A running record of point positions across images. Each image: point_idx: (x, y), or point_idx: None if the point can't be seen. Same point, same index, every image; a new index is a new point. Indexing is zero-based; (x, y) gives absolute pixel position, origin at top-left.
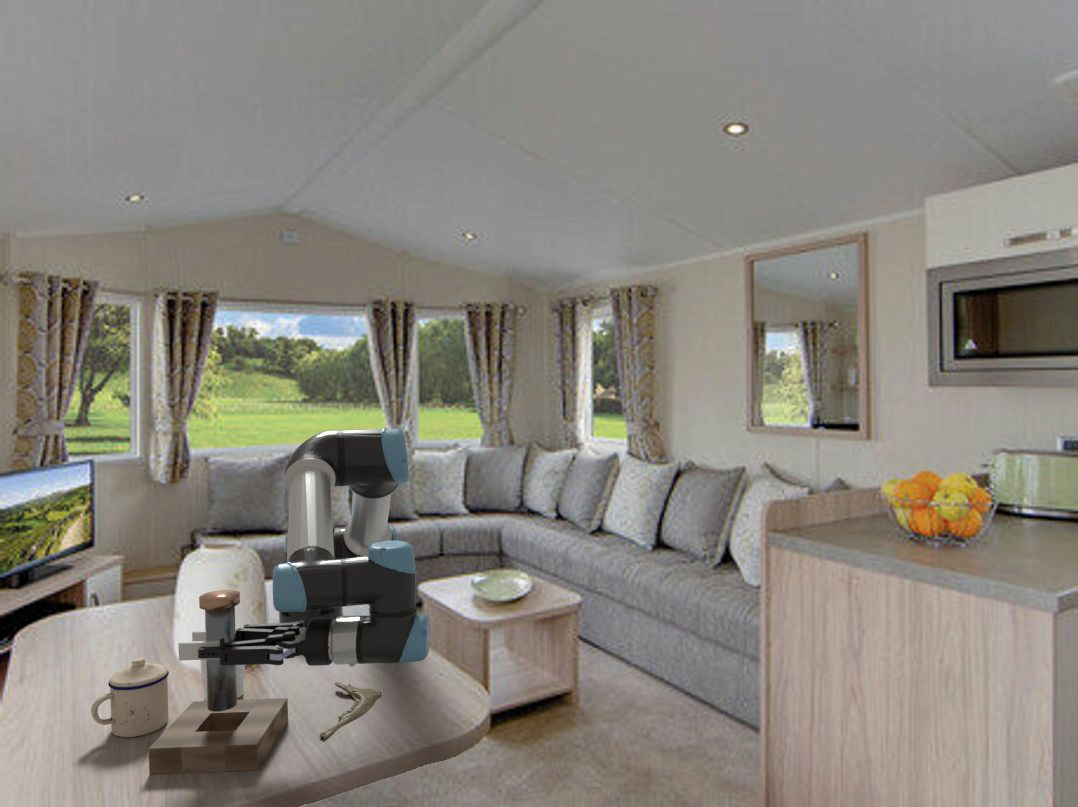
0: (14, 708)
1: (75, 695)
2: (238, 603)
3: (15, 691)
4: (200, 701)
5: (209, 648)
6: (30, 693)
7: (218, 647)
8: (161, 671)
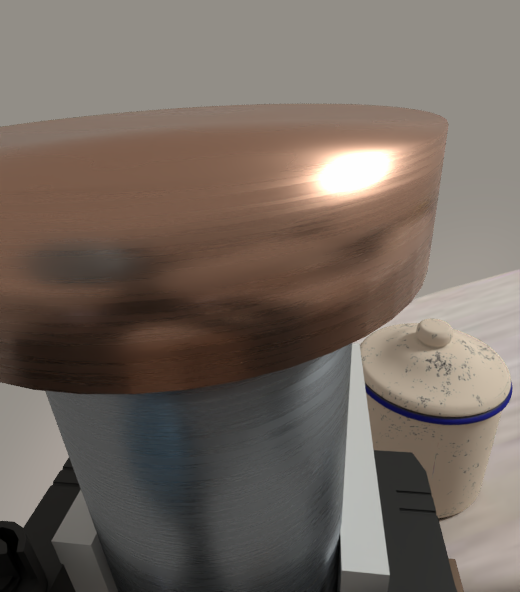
0: (448, 292)
1: (516, 328)
2: (55, 382)
3: (501, 276)
4: (459, 586)
5: (65, 492)
6: (501, 288)
7: (46, 550)
8: (447, 398)
